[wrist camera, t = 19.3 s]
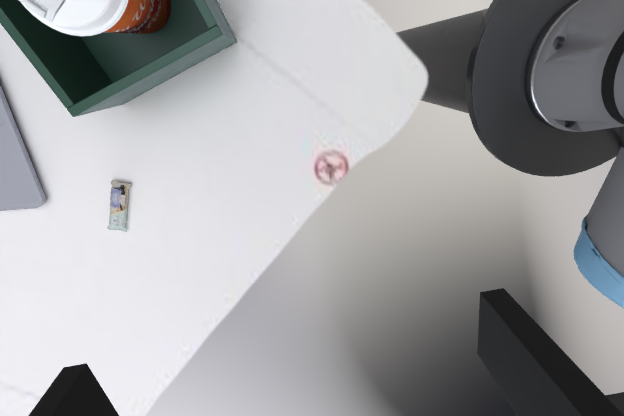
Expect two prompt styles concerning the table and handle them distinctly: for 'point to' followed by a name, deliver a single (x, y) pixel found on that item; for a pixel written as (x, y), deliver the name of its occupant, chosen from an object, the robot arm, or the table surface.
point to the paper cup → (101, 15)
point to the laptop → (16, 166)
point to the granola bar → (118, 206)
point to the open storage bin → (117, 53)
